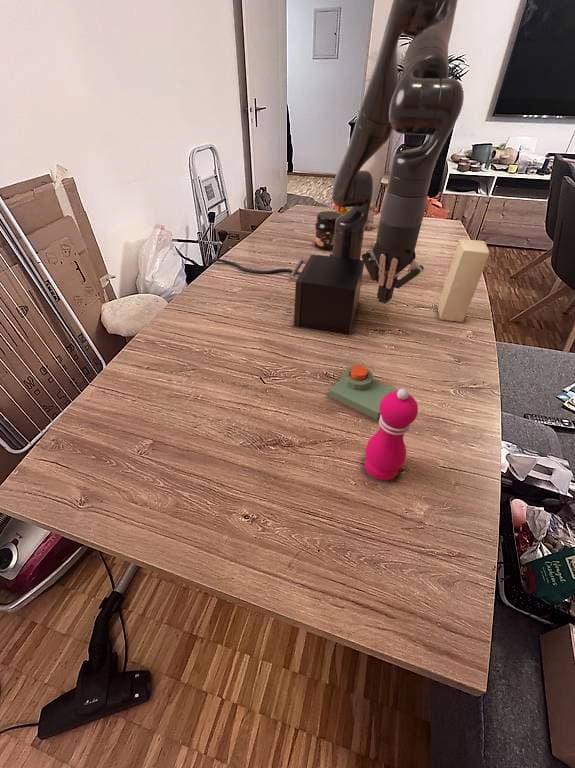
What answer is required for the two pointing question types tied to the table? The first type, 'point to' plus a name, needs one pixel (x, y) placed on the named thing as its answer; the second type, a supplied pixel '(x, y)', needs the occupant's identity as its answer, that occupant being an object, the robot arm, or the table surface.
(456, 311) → the tall wooden block
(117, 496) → the table surface
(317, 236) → the supplement container
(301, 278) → the oven door
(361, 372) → the button
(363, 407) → the switch block
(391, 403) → the pepper mill
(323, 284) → the oven
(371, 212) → the doll family
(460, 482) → the table surface
